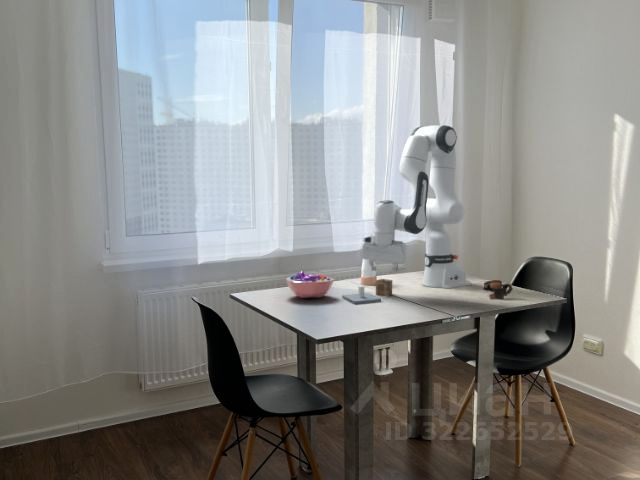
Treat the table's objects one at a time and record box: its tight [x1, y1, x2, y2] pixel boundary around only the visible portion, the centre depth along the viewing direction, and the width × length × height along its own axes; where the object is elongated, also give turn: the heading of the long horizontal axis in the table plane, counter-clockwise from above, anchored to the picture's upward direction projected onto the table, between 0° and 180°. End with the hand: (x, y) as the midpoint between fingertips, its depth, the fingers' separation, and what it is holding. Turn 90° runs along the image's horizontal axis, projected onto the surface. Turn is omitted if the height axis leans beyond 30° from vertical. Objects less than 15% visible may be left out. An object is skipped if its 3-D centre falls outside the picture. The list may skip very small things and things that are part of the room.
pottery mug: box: [482, 279, 513, 300], centre depth 267 cm, size 12×10×8 cm
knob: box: [375, 278, 393, 297], centre depth 272 cm, size 5×5×7 cm
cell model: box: [285, 270, 335, 299], centre depth 267 cm, size 17×20×11 cm
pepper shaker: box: [360, 246, 378, 286], centre depth 294 cm, size 7×7×19 cm
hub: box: [341, 285, 382, 305], centre depth 263 cm, size 12×12×6 cm
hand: (382, 271), depth 271 cm, fingers open, 8 cm apart
